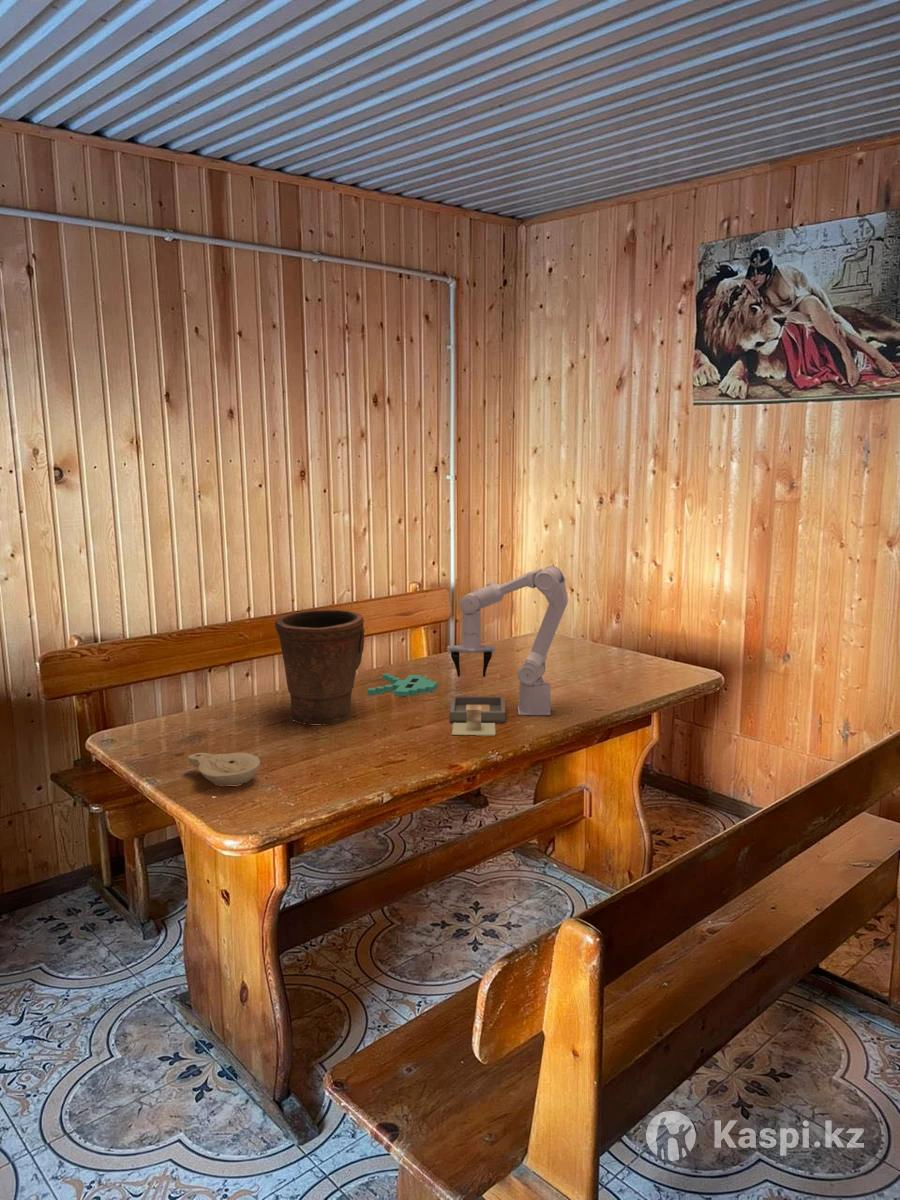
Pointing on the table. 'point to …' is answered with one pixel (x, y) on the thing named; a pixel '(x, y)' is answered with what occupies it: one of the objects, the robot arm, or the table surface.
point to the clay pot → (321, 662)
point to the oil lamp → (226, 767)
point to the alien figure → (405, 685)
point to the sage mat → (486, 730)
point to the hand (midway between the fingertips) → (471, 675)
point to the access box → (489, 708)
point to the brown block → (474, 718)
